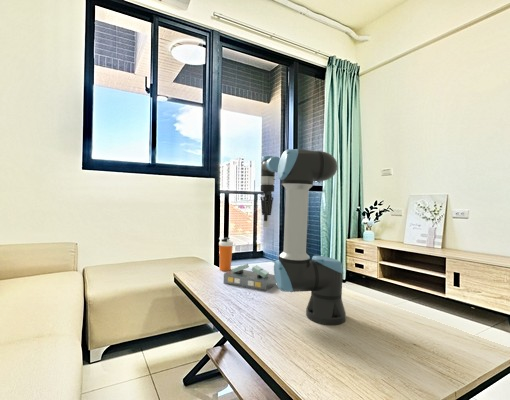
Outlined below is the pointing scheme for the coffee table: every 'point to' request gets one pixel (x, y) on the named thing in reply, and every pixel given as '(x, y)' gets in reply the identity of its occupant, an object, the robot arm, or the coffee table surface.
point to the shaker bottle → (225, 254)
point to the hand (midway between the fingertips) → (266, 226)
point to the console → (249, 280)
